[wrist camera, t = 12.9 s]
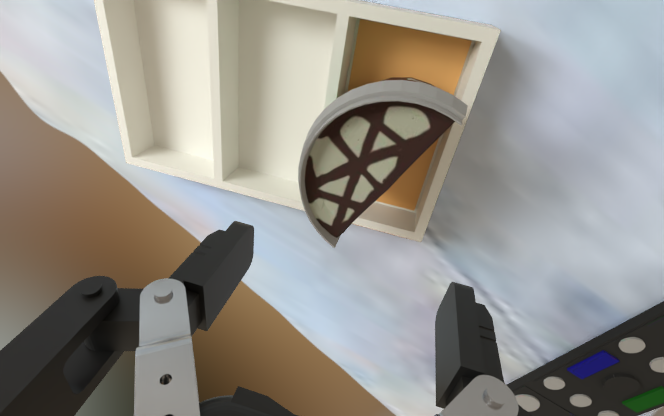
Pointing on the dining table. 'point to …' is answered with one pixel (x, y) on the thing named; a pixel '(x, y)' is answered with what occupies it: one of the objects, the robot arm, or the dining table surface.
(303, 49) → the cream compartment tray
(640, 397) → the remote control
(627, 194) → the dining table surface
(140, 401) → the robot arm
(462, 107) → the food container
